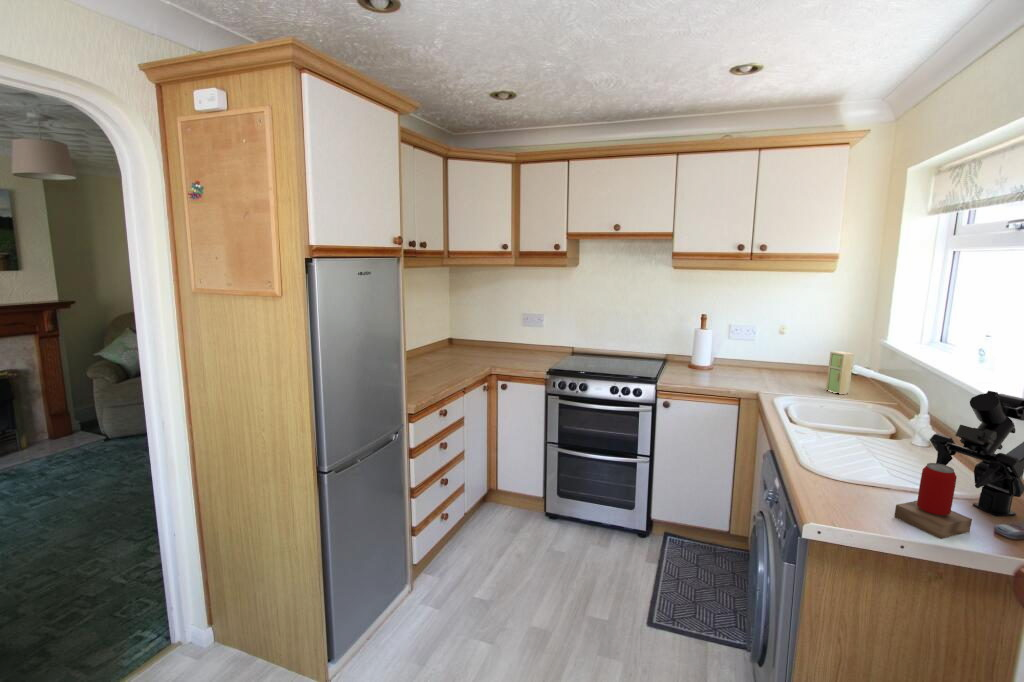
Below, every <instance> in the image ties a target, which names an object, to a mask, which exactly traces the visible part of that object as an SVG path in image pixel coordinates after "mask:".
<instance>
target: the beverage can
mask: <svg viewBox="0 0 1024 682" xmlns="http://www.w3.org/2000/svg"><path fill="white" fill-rule="evenodd" d="M957 477H958V476H957V475H956V473H955V469H954V468H953V467H951V466H948V465H942V464H937V463H936V462H928V463H926V466H924V467H923V468H922V470H921V477H920V482H919V489H918V494H917V500H916V501H917V506H918V507H919V508H920V509H922V510H923V511H924V512H926V513H929V514H932V515H936V516H944V515H948V514H950V512H951V510H952V506H953V501H954V495H955V490H956V485H957V484H956V483H957Z"/></svg>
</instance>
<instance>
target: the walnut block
mask: <svg viewBox="0 0 1024 682" xmlns="http://www.w3.org/2000/svg"><path fill="white" fill-rule="evenodd" d="M893 515H894V516H893V517H894V518H896V519H897V518H898V519H897V520H899V519H900V521H901V520H902V521H901V522H903V521H904V523H905V524H908V525H910V526H912V527H914V528H916V529H918V530H920V531H922V532H924V533H926V534H929V535H931V536H933V537H935V538H938V539H939V538H940V539H946V538H950V536H951V537H954V536H958V535H963V534H968V533H970V532H971V526H972V521H973V519H972V518H970V517H968V516H966V515H963V514H961V513H958V512H956V511H953V510H952V509H951V512H950V514H948V515H944V516H936V515H932V514H929V513H926V512H924V511H923V510H922V509H920V508H919V507H918V506H917V500H915V501H908V502H903V503H898V504H896V505H895V510H894V514H893ZM967 532H968V533H967ZM962 533H963V534H962ZM940 539H939V540H940Z"/></svg>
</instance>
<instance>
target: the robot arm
mask: <svg viewBox="0 0 1024 682" xmlns="http://www.w3.org/2000/svg"><path fill="white" fill-rule="evenodd" d="M969 405H970V407H971V409H972V411H973V413H974V415H975V417H976V419H977V420H978V421H979V422H981V423H980V424H979V425H978V427H977V428H976V427H970V426H968V425H963V424H960V425H959V427H958V429H957V431H956V432H955V435H954V436H955V437H958V438H959V441H960V443H961V444H963V445H960V444H957V443H955V441H954V439H953V438H952V437H949V436H946V435H943V434H940V433H935V434H933V435H932V436H931V437H930V438H929V441H930V443H931V444H932V446H933V448H934V450H935V451H937V455H936V457H937V458H936V461H935V463H937V464H942V465H946V466H948V464H949V463H950V462H951V461H952V460H954V458H953V456H955V455H956V453H959V454H961V455H963V456H967V457H971V458H974V459H977V460H980V462H978V463H976V464H975V466H974V468H973V474H974V475H973V476H974V477H973V478H974V486H975V488H976V489H979V488H981V491H980V493H979V498H978V502H973V503H972V506H974V507H976V508H978V509H980V510H983V511H985V512H986V513H989V514H991V515H993V516H995V517H1006V516H1017V513H1016V512H1014V511H1012V510H1011V508H1012V502H1013V498H1014V497H1016V498H1021V497H1022V495H1023V493H1024V483H1023V481H1022V480H1021V478H1022V476H1023V475H1024V441H1022V442H1021V443H1020V444H1018V445H1017V446H1016V447H1014V448H1012V449H1011V450H1010V451H1008V452H1007V453H1006V454H1005V453H1002V452H998V453H996V451H997V450H999V451H1001V450H1002V449H1003V447H1004V446H1003V442H1004V441H1005V439H1006V438H1007V437H1008V436H1009V435H1010V434H1016V427H1015V423H1014V421H1013V420H1018V421H1022V422H1023V421H1024V398H1023V397H1019V396H1014V395H1010V394H1004V393H998V392H996V391H992V390H988V391H987V392H986V393H980V394H976V395H975V396H973V397H971V398H970V399H969ZM1012 419H1013V420H1012Z"/></svg>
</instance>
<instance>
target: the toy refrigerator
mask: <svg viewBox="0 0 1024 682" xmlns="http://www.w3.org/2000/svg"><path fill="white" fill-rule="evenodd" d="M854 356H855V355H854V353H852V352H848V351H842V350H832V351H831V350H830V352H829V360H828V361H829V362H828V369H827V370H828V371H827V377H826V378H827V379H826V386H825V387H826V388H825V390H826V389H827V390H831V391H833V392H837V393H846V392H849V393H850V388H851V386H850V385H851V379H852V372H851V368H852V369H853V363H854Z"/></svg>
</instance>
